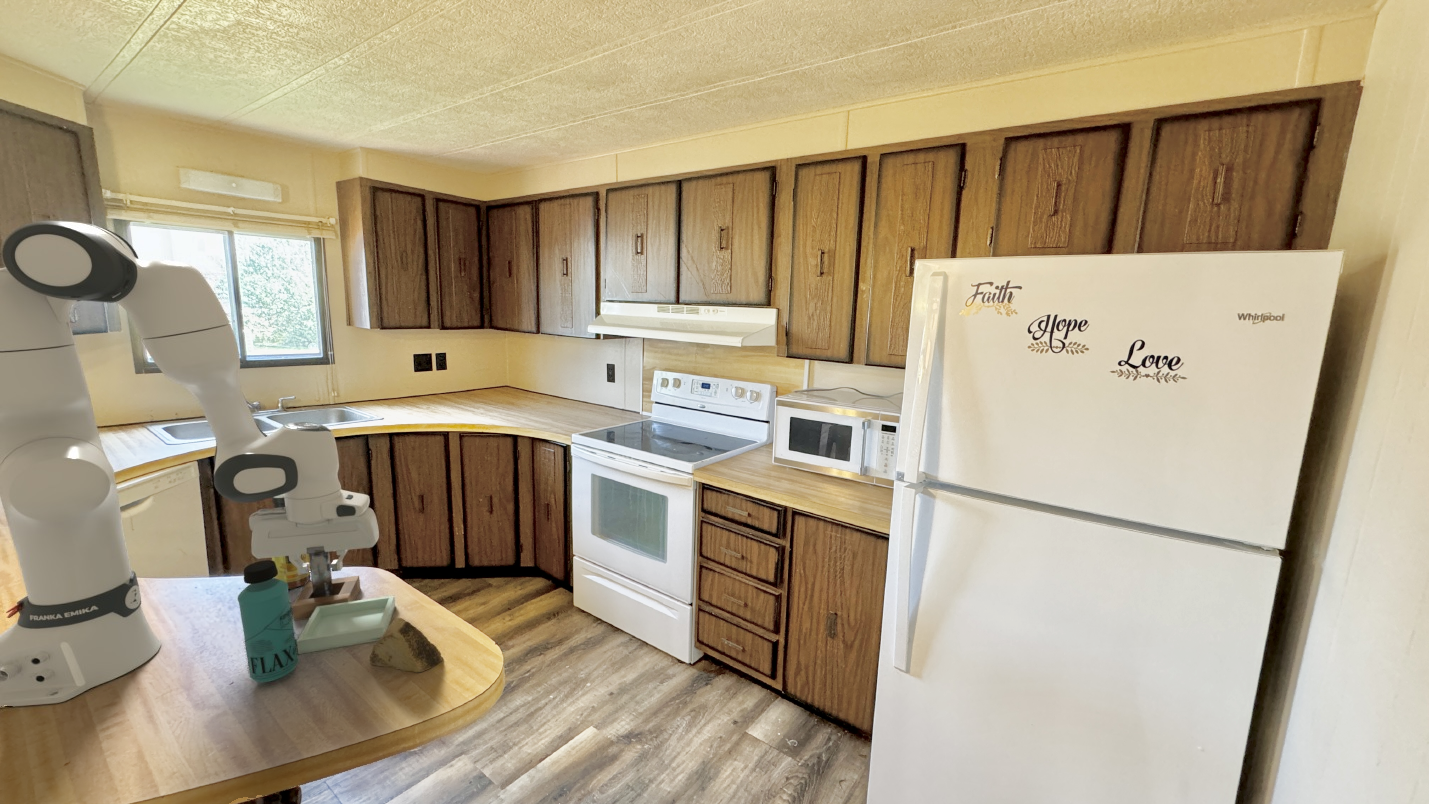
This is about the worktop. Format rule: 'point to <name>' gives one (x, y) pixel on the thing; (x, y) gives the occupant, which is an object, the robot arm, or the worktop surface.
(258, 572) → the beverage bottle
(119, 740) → the worktop surface
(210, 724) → the worktop surface
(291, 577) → the sauce bottle
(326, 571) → the pin
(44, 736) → the worktop surface
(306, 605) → the collar
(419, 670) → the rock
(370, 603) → the dish
